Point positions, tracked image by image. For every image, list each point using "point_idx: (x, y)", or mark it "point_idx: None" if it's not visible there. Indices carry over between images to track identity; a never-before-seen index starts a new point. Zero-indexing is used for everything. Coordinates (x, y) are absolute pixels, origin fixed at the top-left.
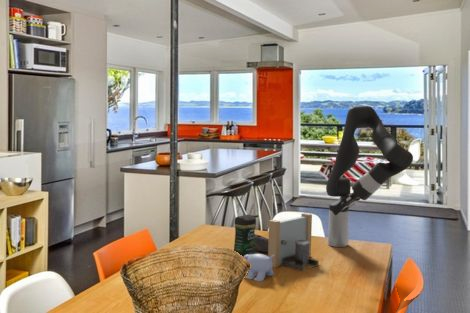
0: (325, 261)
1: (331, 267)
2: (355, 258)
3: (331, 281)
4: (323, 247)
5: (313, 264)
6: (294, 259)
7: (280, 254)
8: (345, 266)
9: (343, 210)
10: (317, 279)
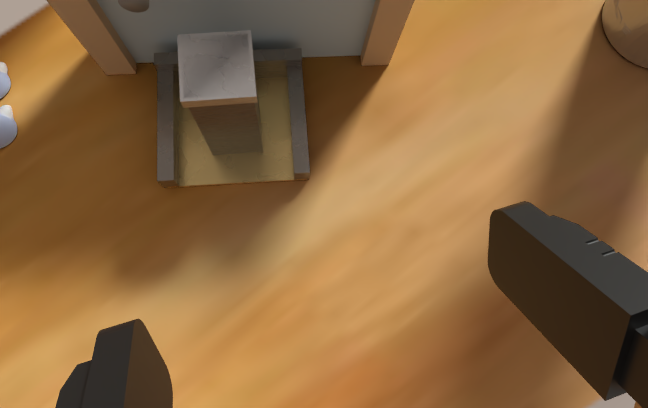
0: (387, 161)
1: (337, 243)
2: None
3: None
4: (553, 11)
5: (288, 163)
6: None
7: (143, 30)
8: (411, 276)
9: (501, 269)
10: None
